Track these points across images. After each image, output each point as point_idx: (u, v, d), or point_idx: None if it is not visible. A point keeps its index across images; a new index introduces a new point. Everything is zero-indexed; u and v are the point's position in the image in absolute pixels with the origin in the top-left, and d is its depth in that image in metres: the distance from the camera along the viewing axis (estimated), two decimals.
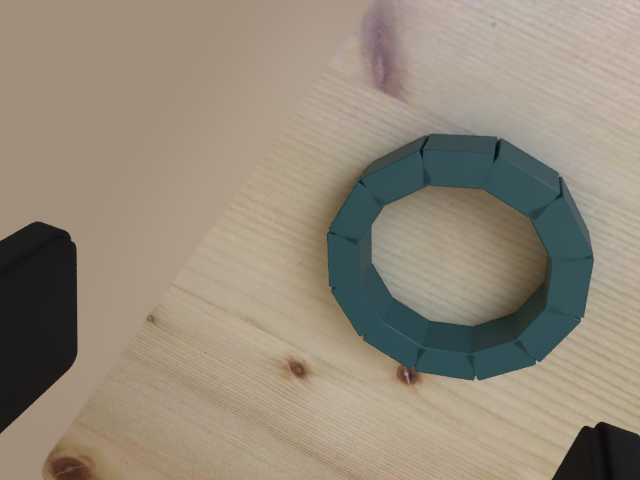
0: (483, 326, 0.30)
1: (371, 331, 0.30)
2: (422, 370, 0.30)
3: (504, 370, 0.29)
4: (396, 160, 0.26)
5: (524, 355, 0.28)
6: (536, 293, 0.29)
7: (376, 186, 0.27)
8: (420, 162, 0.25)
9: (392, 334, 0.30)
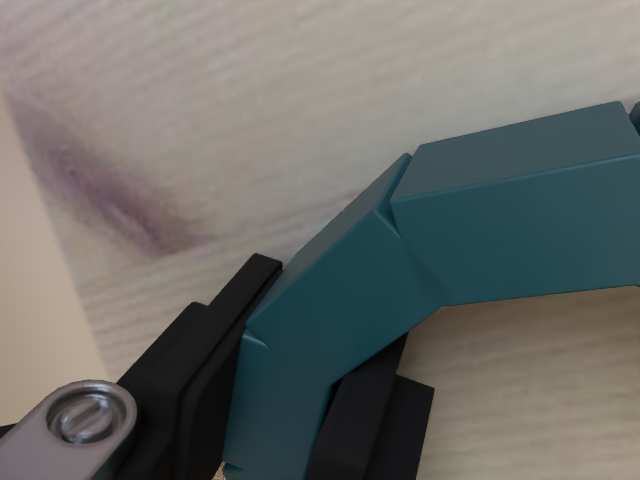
0: None
1: None
2: None
3: None
4: None
5: None
6: None
7: (253, 455, 0.10)
8: (267, 352, 0.09)
9: None
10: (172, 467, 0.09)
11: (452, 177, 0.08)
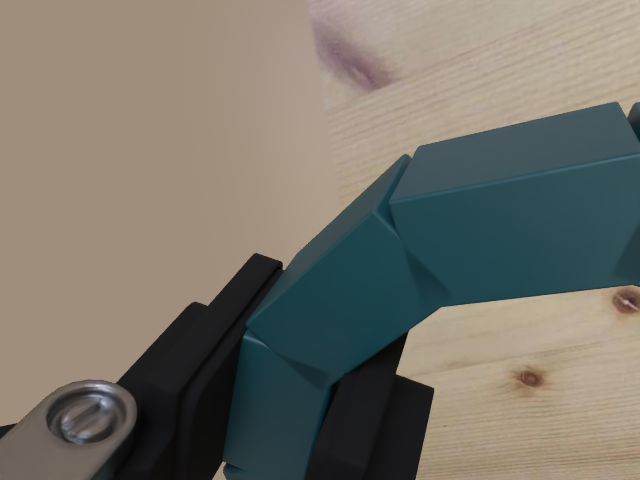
0: None
1: None
2: None
3: None
4: None
5: None
6: None
7: (254, 455, 0.10)
8: (268, 353, 0.09)
9: None
10: (172, 467, 0.09)
11: (451, 178, 0.08)
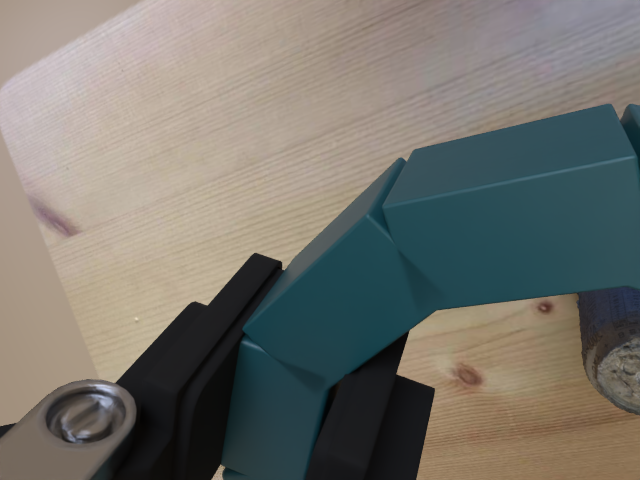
0: None
1: None
2: None
3: None
4: None
5: None
6: None
7: (253, 459, 0.10)
8: (265, 357, 0.09)
9: None
10: (171, 467, 0.09)
11: (444, 181, 0.08)
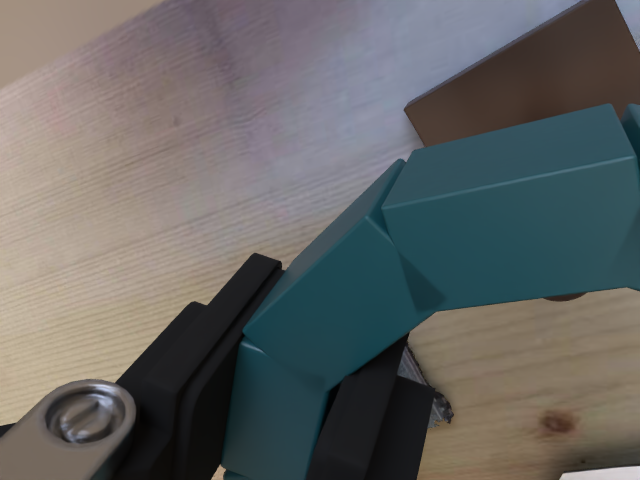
0: None
1: None
2: None
3: None
4: None
5: None
6: None
7: (253, 462, 0.10)
8: (265, 359, 0.09)
9: None
10: (171, 467, 0.09)
11: (443, 182, 0.08)
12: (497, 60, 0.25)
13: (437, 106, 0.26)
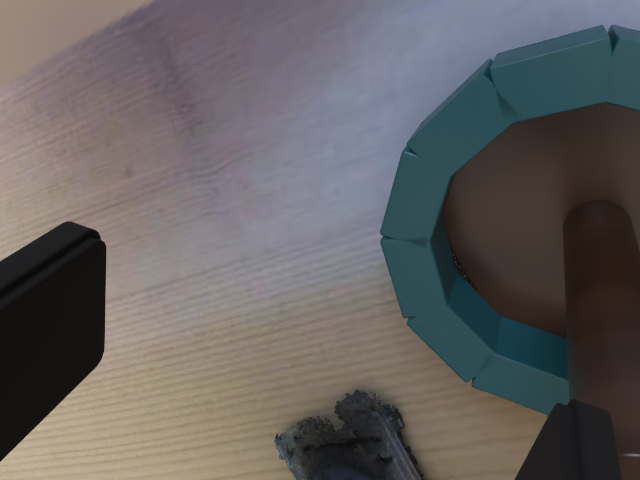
0: None
1: (566, 401, 0.19)
2: None
3: None
4: (394, 181, 0.18)
5: None
6: None
7: (401, 228, 0.19)
8: (417, 160, 0.18)
9: None
10: None
11: (520, 57, 0.16)
12: None
13: None
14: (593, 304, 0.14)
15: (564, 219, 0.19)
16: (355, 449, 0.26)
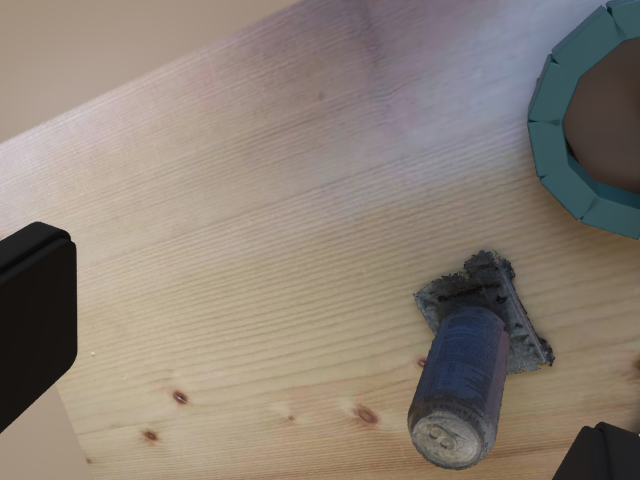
0: None
1: None
2: None
3: None
4: (541, 82, 0.29)
5: None
6: None
7: (543, 113, 0.29)
8: (559, 67, 0.28)
9: None
10: None
11: (629, 0, 0.27)
12: (626, 41, 0.29)
13: None
14: None
15: None
16: (480, 292, 0.37)
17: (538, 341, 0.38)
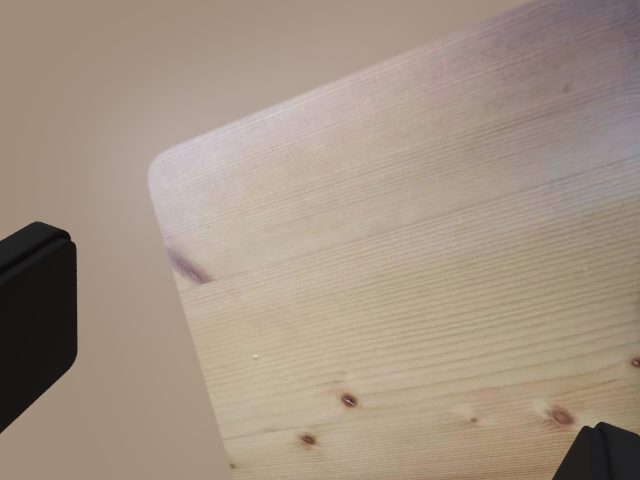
0: None
1: None
2: None
3: None
4: None
5: None
6: None
7: None
8: None
9: None
10: None
11: None
12: None
13: None
14: None
15: None
16: None
17: None
